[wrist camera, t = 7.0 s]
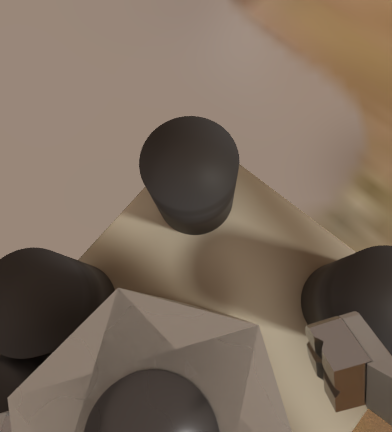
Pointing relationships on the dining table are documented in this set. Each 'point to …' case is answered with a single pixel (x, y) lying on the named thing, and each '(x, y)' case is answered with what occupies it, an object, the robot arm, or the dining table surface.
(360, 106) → the dining table surface
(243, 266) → the spacer board
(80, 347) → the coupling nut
